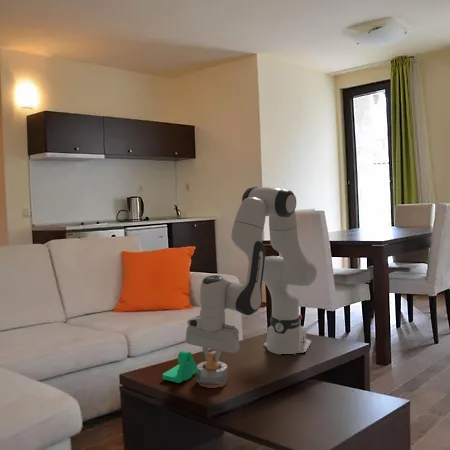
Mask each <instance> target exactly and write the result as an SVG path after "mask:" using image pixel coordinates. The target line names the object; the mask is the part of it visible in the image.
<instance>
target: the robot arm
mask: <svg viewBox="0 0 450 450" xmlns="http://www.w3.org/2000/svg"><path fill="white" fill-rule="evenodd" d="M296 207H297V197H296V195H295V194H294V192H293V191H292V190H290V189H288V188H279V187H275V186H274V187H271V186H268V187H267V186H266V187H265V186H264V187H263V186H260V187H259V186H253V187H249V188H247V189H246V190H245V191H244V193H243V194H242V197H241V204H240V206H239V207H238V210H237V212H236V215H235V218H234V222H233V225H232V229H231V240H232V243H233V244H234V245H235V246H236V248H238V249H239V250H240V251H241V252H242V253H244V254H245V255H246V257H247V259H248V266H247V275H246V282H245V284H241V283H237V282H234V281H231V280H227V279H225V278H224V277H223V275H219V274H218V275H217V274H213V275H208V276H206V277H204V278H203V279H202V281H201V284H200V290H199V303H200V304H199V305H200V311H199V314H198V315H196V316H193V317H191V318H189V319H188V320H187V328H186V331H185V341H186V343H187V345H192V346H194V347H195V346H196V347H200V348H202V352H203V354H204V355H205V357H204V358H205V360H206V361H207V354H208V353H210V351H209V349H210V350H213V351H216V353H217V354H216V355H215V356H213V361H216V362H218V361H219V362H220V356H221V354H222V353H223V352H225V353H229V354H230V353H231V354H235V353H236V352H238V351H239V350H240V340H239V339H240V336H239V333H240V332H239V329H238V328H237V327H236V326H234V325H229V324H226V312H225V310H226V309H228V310H230V311H234V312H238V313H240V314H243V315H244V316H251V315H254V314H255V313H256V312H258V310H259V309H260V307H261V306H262V301H263V297H262V296H263V295H262V293H263V291H262V288H263V282H264V285H266V287H267V289H268V291H269V293H270V298H271V315H270V326H268V327H267V334H266V342H264V343H263V347H265V348H266V349H267V351H268V352H270V353H273V354H276V355H281V354H294V353H300V352H306V351H307V352H308V350H309V349H310V347H311V344H312V340H311V339H308V338H307V331H306V329H305V328H304V327H303V326H302V324H301V320H302V319H303V315H302V314H300V313H299V312H300V301H299V297H298V296H297V295H296V294H295V293H294V292H293V291H291V289H290V287H289V286H288V285H290V286H297V287H305V286H306V287H307V286H311V285H312V284H313V283H314V282H315V281H316V278H317V275H318V271H317V270H318V269H317V267H316V265H315V263H314V262H313V261H312V260H310V259H309V258H308V257H307V255H305V254H304V252H303V250H302V247H301V245H300V242H299V236H298V226H297V225H298V224H297V223H298V222H297V215H296V212H295V211H296V209H297V208H296ZM266 217H268V228H269V239H270V240H269V242H270V245H271V248H273V250H275V251H276V252H277V253H279V255H280V256H277V255H270V256H266V246H265V244H264V243H263V233H264V232H263V231H264V227H265V224H266ZM309 346H310V347H309ZM307 349H308V350H307ZM307 352H306V353H307ZM294 355H295V354H294Z"/></svg>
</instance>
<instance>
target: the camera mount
mask: <svg viewBox="0 0 450 450" xmlns="http://www.w3.org/2000/svg"><path fill="white" fill-rule="evenodd" d="M177 362H178V363H179V364H176V366H174V367H172V368H170V369H168V370H167V371H165V372H164V373H162V379H163V380H164V381H165V380H166V381H170V382H174V383H178V384H180V383H182V382H184V381H185V380H187V379H189V378H190V379H192V378H193V375H194V374H197V363H196V362H195V359H194V356H193V354H192V352H191V351H185V350H180V351H179V352H178V355H177ZM191 377H192V378H191ZM190 379H189V380H190ZM183 380H184V381H183ZM187 381H188V380H187Z"/></svg>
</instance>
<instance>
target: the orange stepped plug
mask: <svg viewBox="0 0 450 450" xmlns="http://www.w3.org/2000/svg"><path fill="white" fill-rule="evenodd" d="M216 354H217V353H216V350H212V351H209V353H208V354H207V360H206V361H207V362H206V363H205V369H207V370H217V369H219V366H220V364H219V362H220V361H219V362H216V361H213V356H215V355H216Z"/></svg>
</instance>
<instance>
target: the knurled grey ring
mask: <svg viewBox="0 0 450 450" xmlns="http://www.w3.org/2000/svg"><path fill="white" fill-rule="evenodd" d="M206 362H207V360H206V361H202V362H199V363H198V364H196V366H197V372H196V383H197V382H198V383H199V384H203V385H218V384H222V383H224V382H226V381H227V382H228V365H227V364H226V363H225V362H223V361H220V360H219V361H218V362H219V364H220V366H219V369H217V370H207V369H205V363H206Z"/></svg>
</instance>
